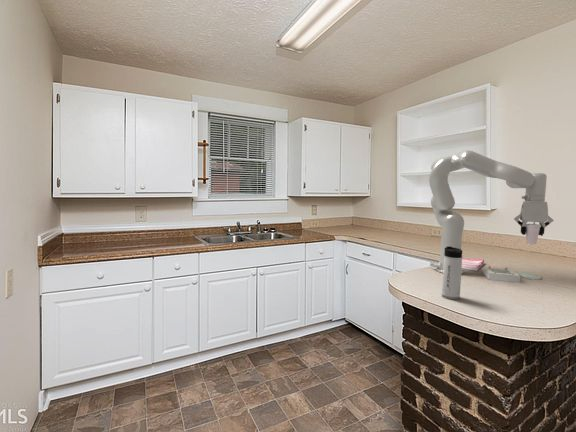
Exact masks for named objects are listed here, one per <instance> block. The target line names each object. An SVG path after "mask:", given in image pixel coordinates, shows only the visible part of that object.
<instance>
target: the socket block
mask: <svg viewBox="0 0 576 432" xmlns="http://www.w3.org/2000/svg"><path fill="white" fill-rule="evenodd" d="M482 267H483V266H482ZM517 273H518V272H515V271H514V270H513V269H509V268H507V267H504V268H497V267H496V268H495V267H492V266H488V267H486V266H485V267H483V270H482V274H483V275H484V276H485V277H486V278H487V279H488V280H490V281H491V280H492V281H500V282H509V283H510V282H511V283H520V278H521V277H520V276H519V275H518V274H517Z"/></svg>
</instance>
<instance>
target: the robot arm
mask: <svg viewBox="0 0 576 432" xmlns="http://www.w3.org/2000/svg"><path fill="white" fill-rule="evenodd" d="M464 168H465V169H467V170H470V171H473V172H475V173H477V174H479V175H482V176H484V177H487V178H491V179H492V178H493V179H498V180H502V181H503V180H504V181H505V184H506V185H507V186H508V187H509V188H511V189H525V192H524V193H525V194H524V195H521V199H522V200H524V201H522V204H521V209H520V213H519V214H518V215H517V216H515V217H514V218H513V220H514V221H515V222H516V223H517V224H518V225H519V226H520V233H521V235H523V236H526V227H525V225H526V224H528V222H529V223H530V222H531V223H534V222H535V223H538V224H539V225H541V227H540V231H539V235H538V236H541V237H543V236H544V234H545V230H546V229H545V228H546V227H548V226H549V225H550V224H551V223H553V222H554V219H553V218H552V217H551V216H549V205H548V202H547V201H546V190H547V188H546V187H547V174H546V173H543V172H542V173H541V172H540V173H539V172H537V173H536V172H535V173H532V172H531V171H528V170H525V169H522V168H520V167H518V166H515V165H512V164H508V163H506V162H505V163H504V162H502V161H499V160H495V159H492V158H491V157H487V156H485V155H483V154H480V153H478V152H476V151H473V150H468V149H467V150H464V151H463V150H462V151H461V152H459V153H455V154H453V155H450V156H445V157H440V158H438V159H436V160H435V161H433V162H432V164H431V167H430V169H431V171H430V173H429V177H428V178H429V179H428V180H429V181H428V183H429V188H430V190H431V194H432V196H431V199H430V204H431V208H432V211H433V214H434V216H435V218H436V222H437V223H438V225H439V226H440V227H441V228H442V230H441V236H440V253H439V260H438V262H429V266H431V267H433V268H435V270H436V271H437V272H438V273H440V274H441V273H442V274H443V267H444V254H445V253H444V252H445V248H446V247H447V246H451V247H454V248H458V249H461V250H462V246H463V245H462V243H463V242H462V241H463V233H464V229H465V228H464V227H465V219H464V217H463V216H462V214H460V213H459V212H456V211H455V210H454V209H453V208H454V207H455V204H456V202H455V197H454V196H453V192H452V189H451V188H450V184H449V179H448V177H449V174H450V173H452V172H455V171H458V170H463V169H464ZM463 274H464V269H461V275H463Z"/></svg>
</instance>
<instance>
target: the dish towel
mask: <svg viewBox="0 0 576 432" xmlns="http://www.w3.org/2000/svg"><path fill="white" fill-rule="evenodd" d="M484 263H485V259H484V258H479V259H476V258H473V259H470V258H463V257H462V269H461V270H466V271H471V272H472V271H473V272H478V271H479V269H480V268H481V267H483V266H484Z"/></svg>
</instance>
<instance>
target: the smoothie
mask: <svg viewBox="0 0 576 432" xmlns="http://www.w3.org/2000/svg"><path fill="white" fill-rule="evenodd" d="M525 227H526V234H525V241H526V244H528V245H537V242H538V238H539V236H540V235H539V231H540V227H541V225H540V224H539V223H538V224H536V222H532V223H526V225H525Z"/></svg>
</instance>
